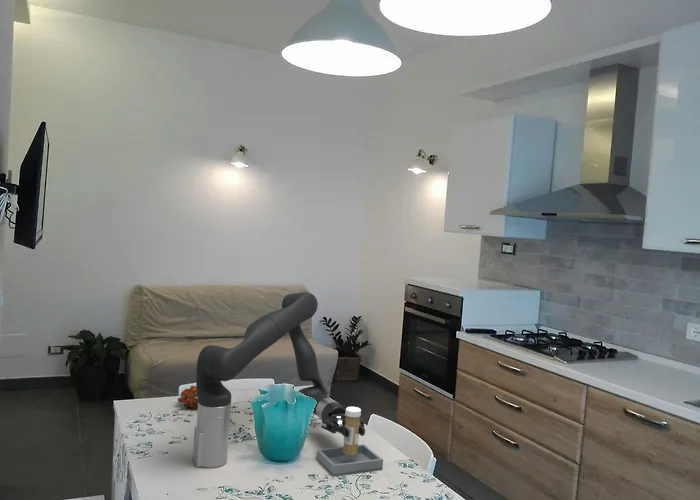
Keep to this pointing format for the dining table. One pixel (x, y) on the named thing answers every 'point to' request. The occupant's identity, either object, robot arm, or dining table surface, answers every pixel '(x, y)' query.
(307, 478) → the dining table surface
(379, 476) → the dining table surface
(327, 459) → the box
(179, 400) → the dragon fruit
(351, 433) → the sprinkles bottle
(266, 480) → the dining table surface
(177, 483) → the dining table surface
